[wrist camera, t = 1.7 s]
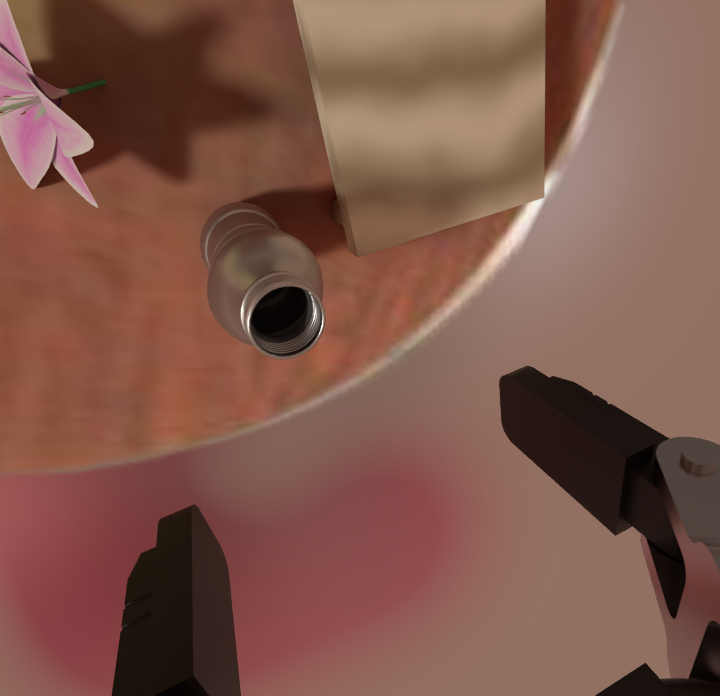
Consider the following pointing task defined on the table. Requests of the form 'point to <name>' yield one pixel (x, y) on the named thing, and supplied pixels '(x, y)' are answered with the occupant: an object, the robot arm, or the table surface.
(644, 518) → the robot arm
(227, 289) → the plastic bottle
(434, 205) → the footstool
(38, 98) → the lily
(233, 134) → the table surface
